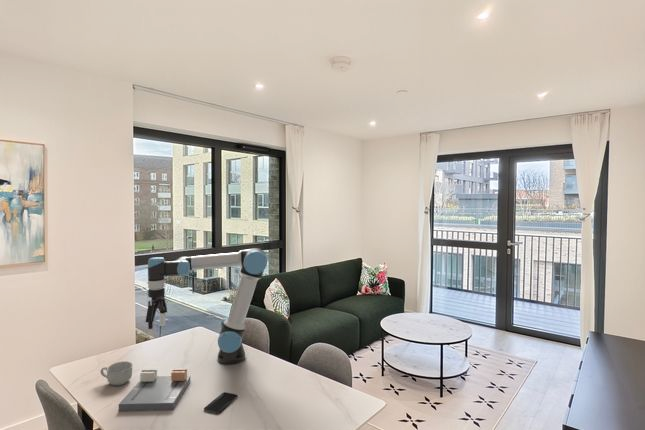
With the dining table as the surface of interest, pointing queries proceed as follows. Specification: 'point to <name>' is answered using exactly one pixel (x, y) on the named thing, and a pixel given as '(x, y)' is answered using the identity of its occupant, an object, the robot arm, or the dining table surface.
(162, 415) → the dining table surface
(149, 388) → the console
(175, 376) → the fader terracotta
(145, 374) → the block
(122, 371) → the teacup
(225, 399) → the phone
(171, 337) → the dining table surface
